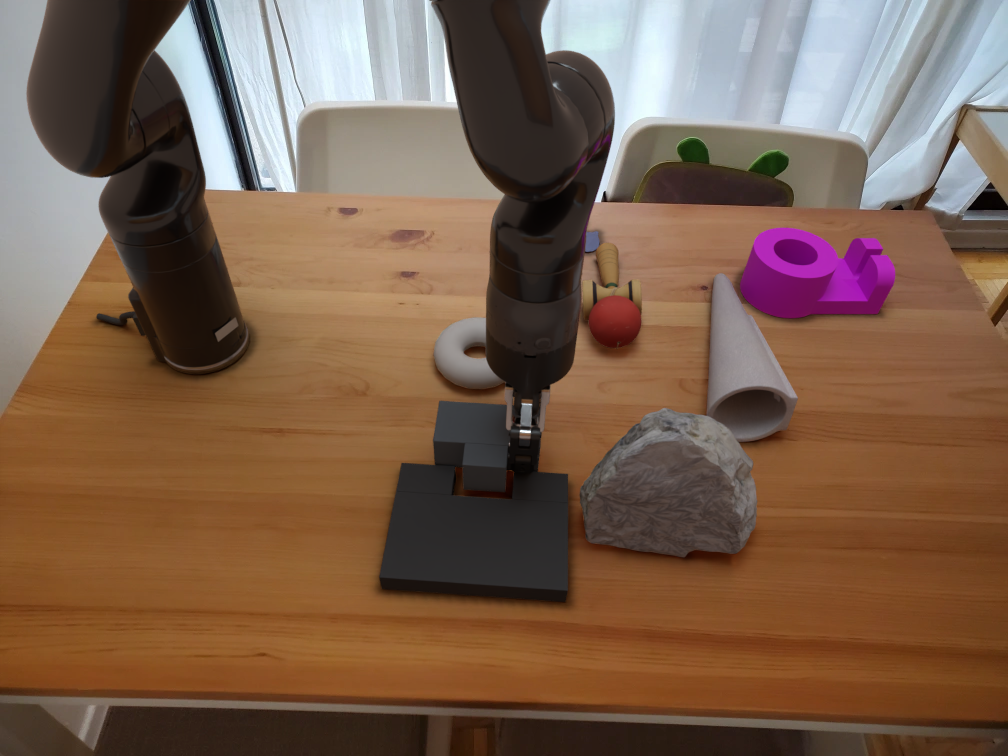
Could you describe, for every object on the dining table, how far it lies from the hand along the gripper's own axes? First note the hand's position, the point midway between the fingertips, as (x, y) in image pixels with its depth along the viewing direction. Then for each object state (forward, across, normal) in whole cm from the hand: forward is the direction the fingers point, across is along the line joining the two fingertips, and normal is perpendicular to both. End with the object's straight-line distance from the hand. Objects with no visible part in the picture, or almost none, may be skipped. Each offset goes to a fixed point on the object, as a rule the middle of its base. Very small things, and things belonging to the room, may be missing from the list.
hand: (523, 445), depth 70 cm
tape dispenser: (+3, -29, +34) cm, 45 cm away
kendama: (+3, -24, +9) cm, 26 cm away
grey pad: (+1, +1, -3) cm, 4 cm away
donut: (+3, -13, -6) cm, 15 cm away
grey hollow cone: (+3, -17, +22) cm, 28 cm away
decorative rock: (+3, +7, +13) cm, 15 cm away
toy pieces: (+3, -37, +3) cm, 38 cm away
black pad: (+3, +9, -4) cm, 10 cm away
